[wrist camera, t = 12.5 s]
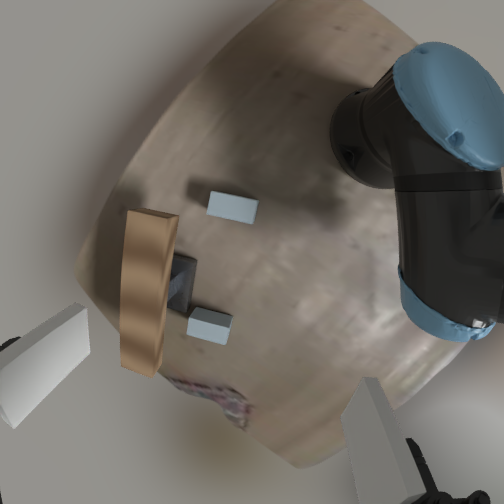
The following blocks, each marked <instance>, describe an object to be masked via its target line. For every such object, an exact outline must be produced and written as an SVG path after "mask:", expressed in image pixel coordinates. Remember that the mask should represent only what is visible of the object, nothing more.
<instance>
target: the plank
mask: <svg viewBox="0 0 504 504" xmlns="http://www.w3.org/2000/svg"><path fill="white" fill-rule="evenodd" d="M178 221H179V215H174V214H169V213H165V212H160V211H155V210H150V209H146V208H140V209H134V210H128V213H127V221H126V229H125V237H124V247H123V258H122V272H121V291H120V353H121V366H122V367H124V368H126V369H129V370H131V371H134V372H136V373H139V374H142V375H144V376H147V377H150V378H153V376H154V375H155V373H156V372H157V370H158V368H159V367H160V365H161V364H162V353H163V340H164V328H165V317H166V307H167V298H168V289H169V281H170V273H171V266H172V259H173V252H174V245H175V239H176V233H177V227H178Z"/></svg>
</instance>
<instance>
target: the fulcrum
mask: <svg viewBox="0 0 504 504" xmlns="http://www.w3.org/2000/svg"><path fill="white" fill-rule="evenodd" d="M196 265H197V260H194V259H190V258H186V257H182V256H179V255H175V254H173V259H172V266H171V273H170V281H169V289H168V298H167V308H171V309H174V310H177V311H181V312H184V313H186V312H187V311H188V310H189V308H190V303H191V296H192V290H193V284H194V277H195V271H196Z"/></svg>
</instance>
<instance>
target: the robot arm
mask: <svg viewBox="0 0 504 504" xmlns="http://www.w3.org/2000/svg"><path fill="white" fill-rule="evenodd" d="M330 140H331V145H332V148H333V151H334V154H335V156H336V158H337V160H338V161H339V163H340V164H341V166H342V167H343V168H344V170H345V171H346V172H347V173H348V174H349V175H350V176H351V177H353V178H354V179H355V180H357V181H358V182H360V183H362V184H364V185H366V186H369V187H372V188H378V189H392V188H395V197H396V208H397V220H398V237H399V265H398V275H399V278H400V289H401V303H402V306H403V309H404V310H405V311H406V313H407V315H408V317H409V318H410V320H411V321H412V322H413V323H414V324H416V325H417V326H418V327H419V328H421V329H422V330H424V331H425V332H427V333H429V334H431V335H433V336H436V337H438V338H441V339H444V340H449V341H455V342H467V341H469V339H470V338H471V339H473V340H478V339H481V338H482V337H484V336H486V335H487V334H488V333H489V332H490V331H491V329H492V327H494V325H495V323H496V322H498V323H504V193H503V187H502V177H501V169H500V168H501V167H503V166H504V94H503V92H502V91H501V89H500V87H499V86H498V84H497V83H496V81H495V80H494V79H493V78H492V76H491V75H490V74H489V72H487V71H486V70H485V69H484V68H483V67H482V66H481V65H480V64H479V62H478V61H476V60H475V59H474V58H473V57H471V56H470V55H469V54H467V53H466V52H464V51H462V50H460V49H459V48H456V47H454V46H452V45H449V44H446V43H441V42H426V43H423V44H420V45H418V46H416V47H415V48H413V49H412V50H411V51H409V52H408V53H407V54H404V55H402V56H401V57H399V58H398V60H397V61H396V62H395V64H394V65H393V66H392V67H391V68H390V69H389V70H388V71H387V72H386V73H385V75H384V76H383V77H382V78H381V79H380V80H379V81H378V82H377V83H376V84H375V85H374V87H373V88H366V89H361V90H358V91H355V92H353V93H352V94H350V95H348V96H347V97H346V98H345V99H344V100H343V101H342V102H341V103H340V105H339V106H338V107H337V109H336V110H335V112H334V114H333V117H332V120H331V124H330ZM89 354H90V344H89V333H88V318H87V307H85V306H83V305H80V304H78V303H76V302H75V303H74V304H72V305H70V306H69V307H67V308H66V309H64V310H63V311H61V312H59V313H58V314H56V315H55V316H53V317H52V318H50V319H49V320H47V321H45V322H44V323H42V324H41V325H40V326H38V327H36V328H35V329H33V330H32V331H30V332H29V333H27V334H26V335H24V336H23V337H16V338H12V339H9V340H8V341H6V342H5V343H3V344H2V346H0V415H1V417H2V419H3V420H4V421H5V422H6V423H8V424H9V425H10V426H11V427H12V428H13V429H15V428H16V427H17V426H18V425H19V423H21V421H22V420H23V419H24V418H25V417H26V416H27V415H28V414H29V413H30V412H31V411H32V410H33V409H34V408H35V407H36V406H37V405H38V404H39V403H40V402H41V401H42V400H43V399H44V398H45V397H46V396H47V395H48V394H49V393H50V392H51V390H53V389H54V388H55V387H56V386H57V385H58V384H59V383H60V381H62V380H63V379H64V378H65V377H66V376H67V375H68V374H69V373H70V372H71V371H72V370H73V369H74V368H75V367H76V366H77V365H78V364H79V363H80V362H81V361H82V360H83V359H84V358H86V357H87V356H88V355H89ZM340 419H341V423H342V427H343V431H344V435H345V440H346V444H347V448H348V452H349V457H350V461H351V466H352V471H353V475H354V481H355V485H356V491H357V496H358V501H359V504H490V498H489V496H488V494H487V493H486V492H484V491H481V490H478V491H475V492H473V493H472V494H471V495H470V496H468V497H467V498H458V499H453V498H452V497H451V495H449V494H448V493H446V492H439V491H438V489H437V487H436V485H435V482H434V480H433V478H432V475H431V473H430V471H429V468H428V466H427V464H426V461H425V459H424V457H422V456H423V455H422V452H421V450H420V448H419V446H418V445H417V444H416V443H415V442H414V441H413V440H412V438H407V439H405V437H404V435H403V433H402V430H401V428H400V426H399V424H398V421H397V419H396V417H395V415H394V413H393V410H392V408H391V406H390V404H389V402H388V400H387V398H386V396H385V393H384V391H383V389H382V387H381V385H380V383H379V381H378V379H377V378H371V377H363V378H362V380H361V382H360V384H359V385H358V387H357V389H356V391H355V393H354V394H353V396H352V398H351V400H350V401H349V403H348V405H347V407H346V408H345V410H344V412H343V413H342V415H341V416H340ZM0 504H2V498H1V493H0Z"/></svg>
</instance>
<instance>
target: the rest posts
mask: <svg viewBox="0 0 504 504" xmlns="http://www.w3.org/2000/svg"><path fill="white" fill-rule="evenodd" d="M258 203H259V200H255V199H251V198H246V197H242V196H237V195H232V194H228V193H223V192H218V191H211V195H210V199H209V204H208V209H207V214H208V215H213V216H217V217H222V218H226V219H231V220H235V221H240V222H244V223H249V224H253V222H254V221H255V216H256V212H257V207H258ZM232 319H233V316H230V315H226V314H222V313H218V312H214V311H211V310H207V309H203V308H199V307H196V308H195V309H194V311H193V312H192V314H191V315H190V317H189V321H188V328H187V335H190V336H193V337H197V338H201V339H204V340H208V341H212V342H216V343H219V344H223V345H226V342H227V339H228V336H229V333H230V328H231V324H232Z"/></svg>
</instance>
